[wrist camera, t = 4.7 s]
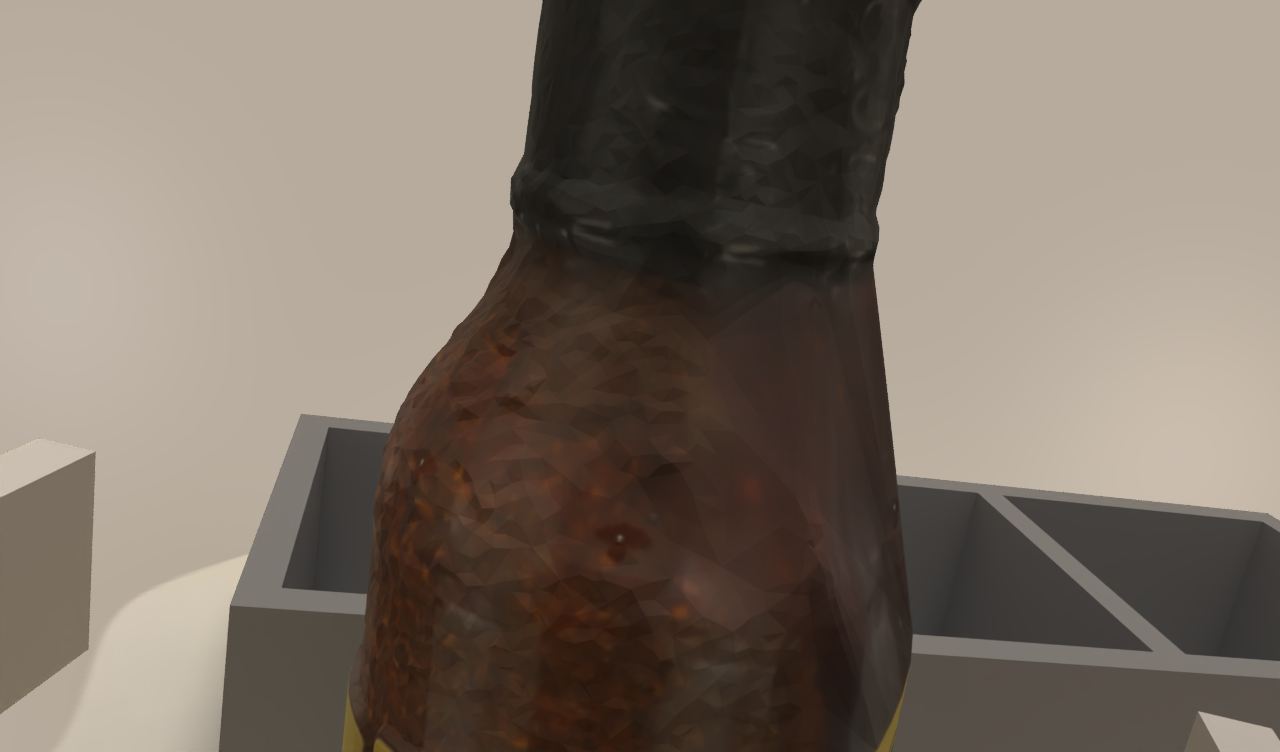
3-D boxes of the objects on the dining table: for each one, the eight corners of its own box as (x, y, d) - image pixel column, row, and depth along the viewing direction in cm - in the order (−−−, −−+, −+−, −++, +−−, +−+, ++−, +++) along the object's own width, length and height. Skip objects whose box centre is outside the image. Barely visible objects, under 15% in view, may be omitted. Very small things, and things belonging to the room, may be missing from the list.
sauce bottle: (827, 1481, 15) (1327, -146, 10) (358, 1788, 12) (710, -414, 6) (597, 1074, 20) (834, -120, 15) (231, 1207, 17) (362, -257, 12)
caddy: (1199, 682, 39) (1259, 508, 37) (1471, 924, 29) (1572, 698, 27) (283, 620, 33) (303, 409, 31) (207, 898, 23) (229, 605, 21)
